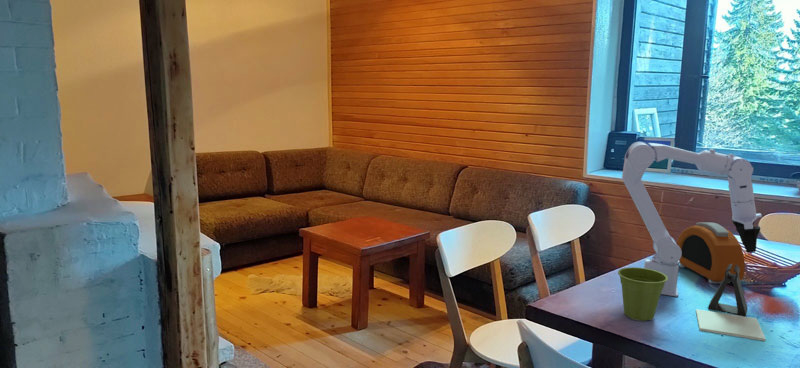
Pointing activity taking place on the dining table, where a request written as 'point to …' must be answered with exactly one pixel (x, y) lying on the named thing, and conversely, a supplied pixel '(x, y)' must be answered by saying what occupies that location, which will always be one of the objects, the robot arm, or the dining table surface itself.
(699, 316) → the mat
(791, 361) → the dining table surface
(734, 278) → the phone stand
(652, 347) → the dining table surface
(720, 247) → the orange tape measure
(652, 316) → the plant pot
